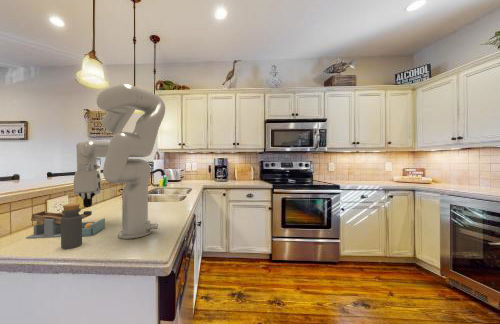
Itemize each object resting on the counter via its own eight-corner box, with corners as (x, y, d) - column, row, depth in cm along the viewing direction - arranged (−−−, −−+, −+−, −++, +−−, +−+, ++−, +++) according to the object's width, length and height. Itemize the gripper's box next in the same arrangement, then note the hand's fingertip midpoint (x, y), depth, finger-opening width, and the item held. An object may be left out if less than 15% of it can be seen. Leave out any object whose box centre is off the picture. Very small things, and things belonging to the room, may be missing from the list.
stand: (81, 229, 95) (81, 213, 95) (67, 236, 86) (66, 219, 86) (44, 231, 92) (44, 215, 92) (26, 238, 84) (26, 220, 84)
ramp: (92, 217, 103) (93, 209, 103) (70, 228, 87) (71, 218, 87) (58, 214, 100) (60, 206, 101) (30, 224, 85) (31, 214, 85)
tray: (104, 228, 97) (104, 218, 97) (92, 235, 87) (92, 224, 87) (82, 229, 95) (82, 219, 95) (67, 237, 85) (66, 225, 85)
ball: (93, 220, 93) (85, 224, 92) (89, 222, 90) (80, 226, 89) (97, 227, 93) (89, 231, 93) (93, 229, 90) (84, 233, 89)
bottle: (69, 249, 73) (69, 206, 73) (56, 248, 74) (56, 205, 74) (86, 243, 79) (86, 203, 79) (73, 242, 80) (73, 202, 80)
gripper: (108, 167, 105) (109, 204, 106) (74, 168, 103) (75, 206, 103) (100, 168, 98) (100, 207, 98) (63, 168, 96) (64, 209, 96)
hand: (87, 206), depth 101 cm, fingers closed
